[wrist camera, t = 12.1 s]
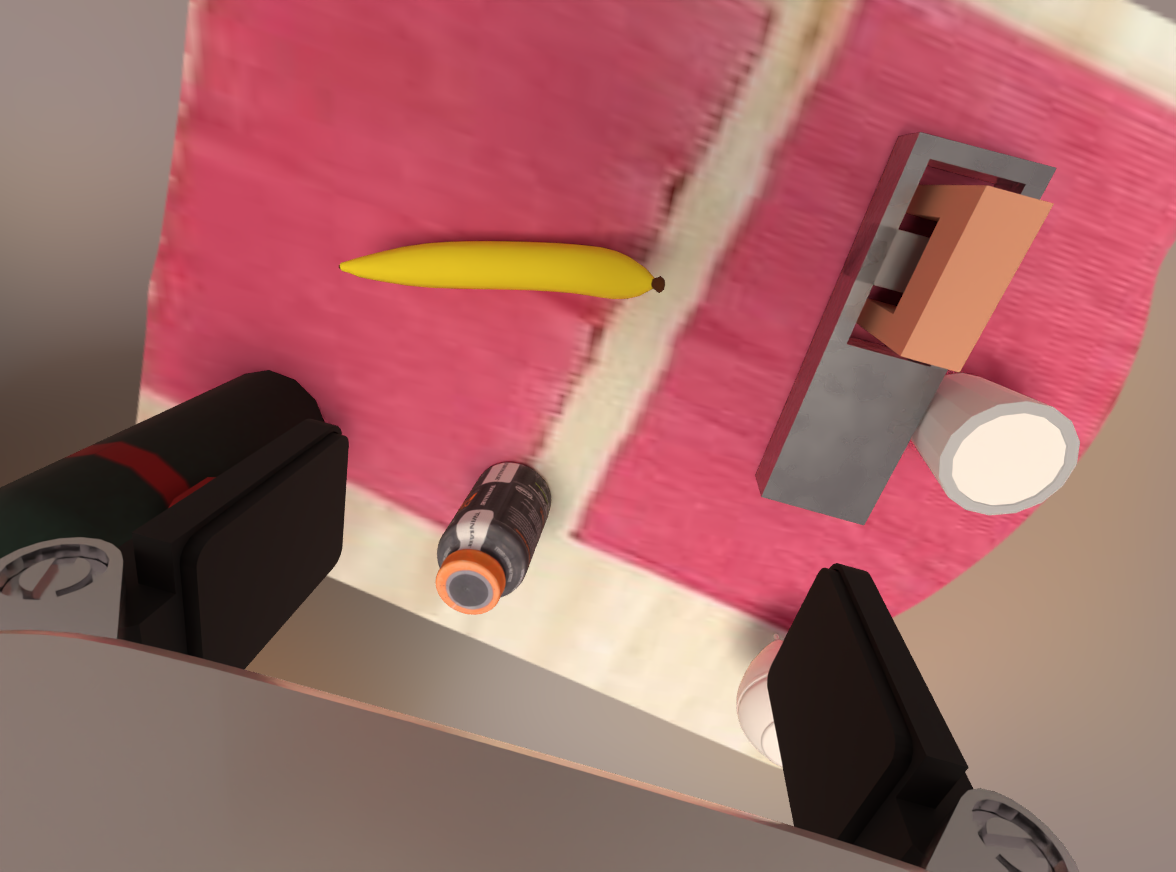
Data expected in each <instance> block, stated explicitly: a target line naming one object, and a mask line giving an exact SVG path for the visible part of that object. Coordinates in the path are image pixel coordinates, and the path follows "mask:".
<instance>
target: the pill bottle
mask: <svg viewBox="0 0 1176 872" xmlns="http://www.w3.org/2000/svg"><path fill="white" fill-rule="evenodd" d="M550 506H551V495H550V491H549V488H548V486H547V484H546V482H545V480H544V479H542V477H541V476H540V475H539V474H538V473H536V472H535V471H534V470H532V469H531V468H529V467H527V466H525V465H522V464H518V463H501V464H497V465H494V466H491V467H490V468H488V469H487V470H486V471H485V472H484V473H483V474H482V475H481V476H480V477H479V479H478V481H477V482H476V484H475V485H474V487H473V488H472V490H471V491H470V493H469V495H468V496H467V498H466V499H465V501H464V502H463V504H462V506H461V507H460V509H459V510H458V512H457V513H456V515H455V517H454V518H453V520H452V521H451V523H450V524H449V526H448V527H447V529H446V530H445V532H444V534H443V535H442V537H441V539H440V541H439V544H438V549H437V559H438V564H439V567H440V570H439V571H438V574H437V577H436V588H437V591H438V593H439V595H440V597H441V598H442V600H443V601H444V602H445V603H446V604H447V605H448V606H450V607H451V608H453V609H454V610H456V611H459V612H462V613H465V614H474V615H475V614H482V613H485V612H488V611H489V610H491V609H492V608H493V607H495V606H496V604H497V603H498V601H499V599H500V597H503V596H506V595H508V594H509V593H511V592H512V591H514V590H515V589H516V588H517V587H518V586H519V585H520V584H521V582H522V581H523V579H524V577H525V575H526V573H527V570H528V567H529V564H530V562H531V559H532V556H533V554H534V551H535V548H536V546H537V543H538V541H539V538H540V535H541V533H542V530H543V528H544V525H545V522H546V520H547V517H548V514H549V510H550Z"/></svg>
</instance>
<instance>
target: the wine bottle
mask: <svg viewBox="0 0 1176 872" xmlns="http://www.w3.org/2000/svg"><path fill="white" fill-rule="evenodd" d="M306 419H313V420H317V421H321V422H324V421H323V418H322V415H321V413H320V410H319V408H318V405H317V402H316V400H315V399H314V398H313V397H312V396H311V395H310V394H309V393H308V392H307V391H306V390H305V389H304V388H303V387H302V386H301V385H300V384H299V383H297V382H296V381H295V380H294V379H291V378H288V377H286V376H283V375H280V374H278V373H275V372H272V371H270V370H267V371H261V372H254V373H248V374H244V375H242V376H240V377H237V378H235V379H233V380H231V381H229V382H227V383H224V384H222V385H220V386H218V387H216V388H214V389H212V390H209V391H207V392H205V393H203V394H201V395H199V396H196V397H194V398H192V399H190V400H188V401H186V402H184V403H181V404H179V405H177V406H175V407H173V408H171V409H169V410H166V411H164V412H162V413H160V414H158V415H156V416H153V417H151V418H149V419H147V420H145V421H143V422H141V423H138V424H136V425H134V426H132V427H130V428H128V429H125V430H123V431H121V432H119V433H117V434H115V435H113V436H110V437H108V438H106V439H104V440H102V441H100V442H97V443H95V444H93V445H91V446H89V447H87V448H85V449H82V450H80V451H78V452H76V453H74V454H72V455H70V456H68V457H65V458H63V459H61V460H59V461H57V462H55V463H52V464H50V465H48V466H46V467H44V468H42V469H39V470H37V471H35V472H33V473H31V474H29V475H27V476H24V477H22V478H20V479H18V480H16V481H14V482H12V483H9V484H7V485H5V486H3V487H1V488H0V559H1V558H2V557H4V556H6V555H8V554H10V553H12V552H14V551H16V550H18V549H21V548H24V547H27V546H30V545H33V544H36V543H39V542H44V541H49V540H55V539H60V538H75V537H85V538H93V539H100V540H103V541H106V542H108V543H111V544H113V545H114V546H115V547H117V548H118V547H119V546H121V545H122V544H124V543H125V542H127V541H128V540H130V539H131V538H132V532H133V531H134V530H136V529H137V528H139V527H141V526H142V525H144V524H145V523H147V522H148V521H150V520H151V519H153V518H154V517H156V516H157V515H159V514H161V513H162V512H164V511H165V510H167V509H168V508H170V507H171V506H173V505H174V504H176V503H177V502H179V501H181V500H182V499H184V498H185V497H187V496H188V495H190V494H191V493H193V492H194V491H196V490H198V489H199V488H201V487H202V486H204V485H205V484H207V483H208V482H210V481H211V480H213V479H214V478H216V477H218V476H219V475H221V474H222V473H224V472H225V471H227V470H228V469H230V468H231V467H233V466H234V465H236V464H238V463H239V462H241V461H242V460H244V459H245V458H247V457H248V456H250V455H251V454H253V453H255V452H256V451H258V450H259V449H261V448H262V447H264V446H265V445H267V444H268V443H270V442H271V441H273V440H275V439H276V438H278V437H279V436H281V435H282V434H284V433H285V432H287V431H288V430H290V429H291V428H293V427H295V426H296V425H298V424H299V423H301V422H302V421H304V420H306Z"/></svg>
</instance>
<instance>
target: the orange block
mask: <svg viewBox="0 0 1176 872" xmlns="http://www.w3.org/2000/svg"><path fill="white" fill-rule="evenodd" d="M1052 206H1053V203H1049V202H1046V201H1042V200H1039V199H1035V198H1031V197H1028V196H1024V195H1020V194H1017V193H1013V192H1009V191H1006V190H1002V189H998V188H995V187H991V186H987V185H918V186H917V188H916V191H915V193H914V195H913V197H912V199H911V202H910V204H909V206H908V208H907V211H906V213H907V214H911V215H915V216H918V217H922V218H925V219H929V220H933V221H936V222H938V223H937V225H936V227H935V229H934V231H933V233H932V235H931V237H930V240H929V242H928V244H927V246H926V248H925V250H924V252H923V254H922V256H921V258H920V260H919V262H918V264H917V266H916V268H915V271H914V273H913V275H912V277H911V279H910V281H909V283H908V285H907V287H906V289H905V291H904V293H903V295H902V297H901V300H900V302H899V304H898V306H894V305H890V304H887V303H883V302H879V301H876V300H872V299H869V298H867V300H866V302H865V304H864V306H863V308H862V311H861V313H860V315H859V317H858V320H857V322H856V323H857V324H859V325H860V326H861V327H863V328H864V329H865V330H867V331H868V332H869V333H871V334H872V335H873V336H875V337H876V338H877V339H878V340H880V341H881V342H882V343H884V344H885V345H886V346H888V347H889V348H890V349H892V350H893V351H894V352H896V353H897V354H898V355H900V356H902V357H905V358H909V359H913V360H916V361H920V362H923V363H927V364H930V365H934V366H938V367H941V368H945V369H948V370H952V371H956V372H959V373H960V371H961V369H962V367H963V365H964V364H965V362H966V360H967V358H968V356H969V355H970V353H971V351H972V349H973V347H974V346H975V344H976V342H977V340H978V339H979V337H980V335H981V333H982V331H983V330H984V328H985V326H986V324H987V322H988V321H989V319H990V317H991V315H992V313H993V312H994V310H995V308H996V306H997V304H998V303H999V301H1000V299H1001V297H1002V296H1003V294H1004V292H1005V290H1006V288H1007V287H1008V285H1009V283H1010V281H1011V279H1012V278H1013V276H1014V274H1015V272H1016V270H1017V269H1018V267H1019V265H1020V263H1021V261H1022V260H1023V258H1024V256H1025V254H1026V253H1027V251H1028V249H1029V247H1030V245H1031V244H1032V242H1033V240H1034V238H1035V236H1036V235H1037V233H1038V231H1039V229H1040V227H1041V226H1042V224H1043V222H1044V220H1045V218H1046V217H1047V215H1048V213H1049V211H1050V210H1051V208H1052Z"/></svg>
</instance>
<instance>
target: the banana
mask: <svg viewBox="0 0 1176 872" xmlns="http://www.w3.org/2000/svg"><path fill="white" fill-rule="evenodd" d="M339 268H340V269H341V270H342V271H344V272H348V273H351V274H353V275H356V276H358V277H361V278H366V279H372V280H377V281H382V282H388V283H394V284H401V285H407V286H418V287H428V288H454V289H507V290H537V291H553V292H565V293H575V294H582V295H589V296H595V297H601V298H609V299H628V298H633V297H637V296H640V295H642V294H644V293H646V292H648V291H650V290H651V289H655V290H656V291H657V292H658V293H660V292H662V291H663V290H664V287H665V280H664V279H663V278H662V277H661V276H660V277H658V278H654V277H653V276H652V275H651V274H650V272H649V271H648V270H647V269H646V268H645V267H643V266H642V265H640V264H639V263H638V262H636V261H635V260H633V259H632V258H630V257H628V256H626V255H624V254H622V253H620V252H617V251H614V250H610V249H606V248H602V247H595V246H586V245H576V244H562V243H543V242H513V241H460V242H439V243H426V244H419V245H412V246H405V247H400V248H396V249H391V250H387V251H383V252H378V253H374V254H370V255H367V256H363V257H359V258H355V259H352V260H349V261H346V262H342V263H341V264H340V265H339Z"/></svg>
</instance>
